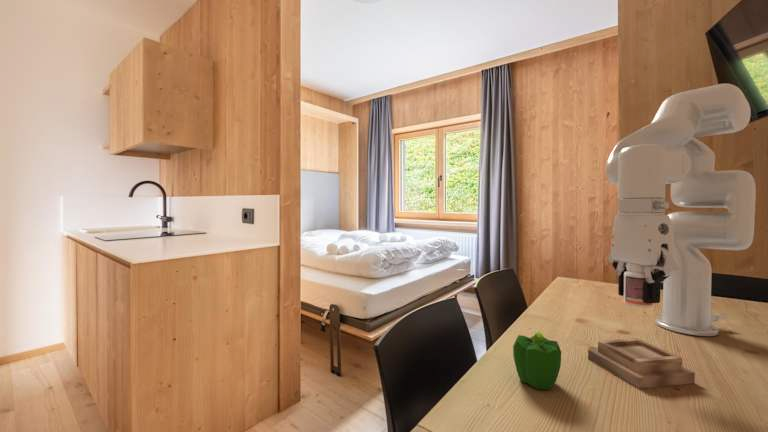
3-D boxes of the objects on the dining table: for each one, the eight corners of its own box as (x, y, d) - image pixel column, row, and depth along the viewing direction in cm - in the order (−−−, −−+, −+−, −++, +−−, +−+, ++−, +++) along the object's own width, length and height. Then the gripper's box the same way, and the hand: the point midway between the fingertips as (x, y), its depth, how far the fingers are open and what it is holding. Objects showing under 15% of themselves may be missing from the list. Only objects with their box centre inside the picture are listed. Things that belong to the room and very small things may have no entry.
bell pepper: (516, 367, 68) (516, 319, 68) (561, 378, 64) (562, 326, 63) (508, 386, 61) (509, 333, 60) (559, 400, 56) (560, 342, 56)
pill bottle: (658, 309, 63) (659, 265, 63) (630, 307, 64) (631, 264, 64) (644, 302, 68) (645, 261, 68) (618, 300, 69) (619, 260, 69)
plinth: (636, 354, 74) (636, 335, 73) (694, 383, 62) (694, 360, 62) (588, 358, 72) (588, 339, 72) (638, 388, 60) (639, 365, 60)
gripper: (703, 208, 58) (700, 311, 58) (620, 208, 75) (618, 288, 75) (666, 207, 57) (664, 312, 57) (590, 208, 74) (589, 289, 74)
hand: (638, 297), depth 66 cm, fingers closed on pill bottle, 4 cm apart
